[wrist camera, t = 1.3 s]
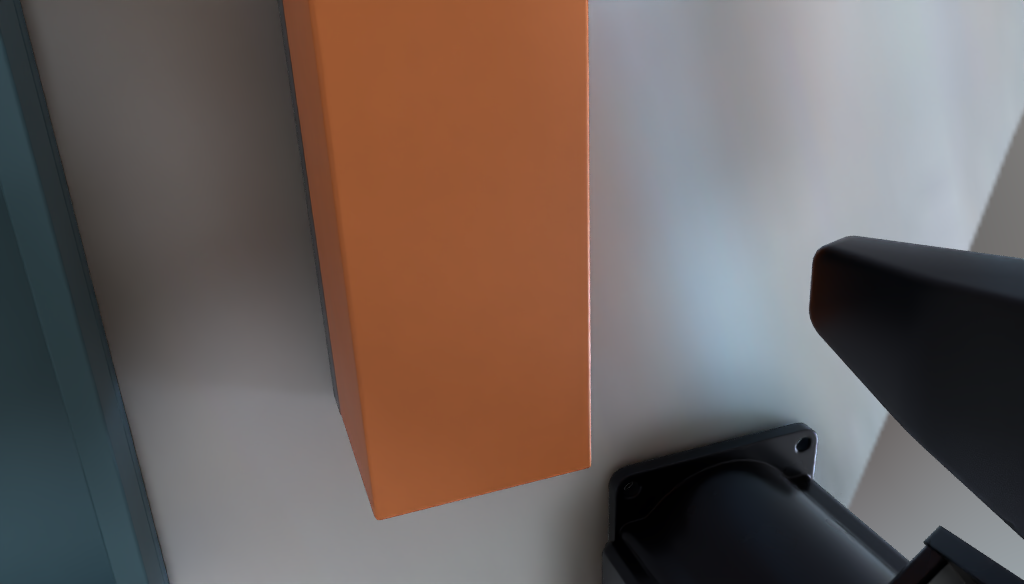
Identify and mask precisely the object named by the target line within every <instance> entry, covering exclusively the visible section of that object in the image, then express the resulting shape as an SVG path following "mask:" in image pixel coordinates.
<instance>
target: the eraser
mask: <svg viewBox="0 0 1024 584" xmlns="http://www.w3.org/2000/svg"><path fill="white" fill-rule="evenodd" d="M278 5H279V12H280V19H281V26H282V33H283V40H284V47H285V54H286V61H287V68H288V75H289V82H290V89H291V96H292V103H293V110H294V117H295V124H296V131H297V138H298V145H299V152H300V159H301V166H302V173H303V180H304V187H305V194H306V201H307V208H308V215H309V222H310V229H311V236H312V243H313V250H314V257H315V264H316V271H317V278H318V285H319V292H320V299H321V306H322V313H323V320H324V327H325V334H326V341H327V348H328V355H329V362H330V369H331V376H332V383H333V390H334V396H335V399H336V403H337V406H338V409H339V412H340V414H341V416H342V418H343V422H344V425H345V428H346V431H347V434H348V437H349V440H350V443H351V446H352V449H353V452H354V455H355V458H356V461H357V464H358V467H359V471H360V474H361V477H362V480H363V483H364V486H365V489H366V492H367V495H368V498H369V501H370V504H371V507H372V510H373V513H374V516H375V518H376V519H377V520H383V519H387V518H391V517H395V516H399V515H403V514H407V513H411V512H415V511H419V510H423V509H427V508H431V507H435V506H439V505H443V504H447V503H451V502H455V501H459V500H463V499H467V498H471V497H475V496H479V495H483V494H487V493H491V492H495V491H499V490H503V489H507V488H511V487H515V486H519V485H523V484H527V483H530V482H534V481H538V480H542V479H546V478H550V477H554V476H558V475H562V474H566V473H570V472H574V471H578V470H582V469H586V468H589V467H590V466H591V348H590V196H589V44H588V0H278Z"/></svg>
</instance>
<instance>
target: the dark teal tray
mask: <svg viewBox="0 0 1024 584" xmlns="http://www.w3.org/2000/svg"><path fill="white" fill-rule="evenodd" d="M0 584H169V581H168V577H167V573H166V569H165V565H164V561H163V557H162V554H161V550H160V546H159V542H158V538H157V534H156V530H155V526H154V522H153V518H152V515H151V511H150V507H149V503H148V499H147V495H146V491H145V487H144V483H143V479H142V476H141V472H140V468H139V464H138V460H137V456H136V452H135V448H134V444H133V440H132V437H131V433H130V429H129V425H128V421H127V417H126V413H125V409H124V405H123V401H122V398H121V394H120V390H119V386H118V382H117V378H116V374H115V370H114V366H113V362H112V359H111V355H110V351H109V347H108V343H107V339H106V335H105V331H104V327H103V323H102V319H101V316H100V312H99V308H98V304H97V300H96V296H95V292H94V288H93V284H92V280H91V277H90V273H89V269H88V265H87V261H86V257H85V253H84V249H83V245H82V241H81V238H80V234H79V230H78V226H77V222H76V218H75V214H74V210H73V206H72V202H71V199H70V195H69V191H68V187H67V183H66V179H65V175H64V171H63V167H62V163H61V160H60V156H59V152H58V148H57V144H56V140H55V136H54V132H53V128H52V124H51V121H50V117H49V113H48V109H47V105H46V101H45V97H44V93H43V89H42V85H41V81H40V78H39V74H38V70H37V66H36V62H35V58H34V54H33V50H32V46H31V42H30V39H29V35H28V31H27V27H26V23H25V19H24V15H23V11H22V7H21V3H20V0H0Z"/></svg>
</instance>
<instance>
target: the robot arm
mask: <svg viewBox="0 0 1024 584" xmlns="http://www.w3.org/2000/svg"><path fill="white" fill-rule="evenodd" d="M809 314H810V319H811V322H812V324H813V326H814V328H815V330H816V331H817V332H818V334H819V335H820V336H821V337H822V338H823V339H824V341H825V342H826V343H827V344H828V345H829V346H830V347H831V348H832V349H833V351H834V352H835V353H836V354H837V355H838V356H839V357H840V358H841V359H842V361H843V362H844V363H845V364H846V365H847V366H848V367H849V368H850V369H851V371H852V372H853V373H854V374H855V375H856V376H857V377H858V378H859V379H860V381H861V382H862V383H863V384H864V385H865V386H866V387H867V388H868V389H869V391H870V392H871V393H872V394H873V395H874V396H875V397H876V398H877V399H878V401H879V402H880V403H881V404H882V405H883V406H884V407H885V408H886V409H887V411H888V412H889V413H890V414H891V415H892V416H893V417H894V418H895V419H896V420H897V421H898V422H899V423H900V424H901V426H902V427H903V428H904V429H905V430H906V431H907V432H908V433H909V434H910V435H911V436H912V437H913V438H914V439H915V440H916V441H918V443H919V444H921V445H922V446H923V447H924V448H925V449H926V450H927V451H928V452H929V453H930V454H931V455H932V456H934V457H935V458H936V459H937V460H938V461H939V462H940V463H941V464H942V465H943V466H944V467H946V468H947V469H948V470H949V471H950V472H951V473H952V474H953V475H954V476H955V477H956V478H957V479H959V480H960V481H961V482H962V483H963V484H964V485H965V486H966V487H968V489H969V490H970V491H972V492H973V493H974V494H975V495H976V496H977V497H978V498H979V499H981V501H983V502H984V503H985V504H986V505H987V506H988V507H989V508H990V509H991V510H992V511H993V512H995V513H996V514H997V515H998V516H999V517H1000V518H1001V519H1002V520H1003V521H1004V522H1005V523H1006V524H1008V525H1009V526H1010V527H1011V528H1012V529H1013V530H1014V531H1015V532H1016V533H1017V534H1018V535H1020V536H1021V537H1022V538H1023V539H1024V259H1021V258H1015V257H1007V256H1000V255H993V254H985V253H978V252H971V251H963V250H956V249H949V248H941V247H934V246H927V245H919V244H912V243H905V242H897V241H890V240H882V239H875V238H868V237H860V236H848V237H844V238H841V239H839V240H837V241H834V242H832V243H829V244H827V245H824V246H822V247H821V248H820V249H818V250H817V252H816V254H815V256H814V258H813V263H812V276H811V289H810V302H809ZM800 439H801V440H800ZM799 440H800V442H799V443H798V441H799ZM797 443H798V444H797ZM817 446H818V435H817V434H816V432H815V431H814V430H812V429H811V428H810V427H809V426H807V425H806V424H804V423H794V424H790V425H787V426H783V427H779V428H775V429H771V430H767V431H763V432H759V433H755V434H751V435H747V436H743V437H739V438H735V439H731V440H727V441H723V442H719V443H716V444H712V445H708V446H704V447H700V448H696V449H692V450H688V451H684V452H680V453H676V454H672V455H668V456H664V457H660V458H656V459H652V460H648V461H645V462H641V463H637V464H633V465H629V466H625V467H623V468H621V469H619V470H618V471H616V472H615V473H614V474H613V476H612V477H611V479H610V482H609V540H608V543H606V545H605V548H604V550H603V552H602V584H1024V580H1022V579H1021V578H1019V577H1018V576H1016V575H1015V574H1013V573H1012V572H1010V571H1009V570H1007V569H1006V568H1004V567H1003V566H1001V565H999V564H998V563H996V562H995V561H993V560H991V559H990V558H989V557H987V556H986V555H984V554H983V553H981V552H980V551H978V550H977V549H975V548H974V547H972V546H971V545H969V544H968V543H966V542H964V541H963V540H962V539H960V538H958V537H957V536H956V535H954V534H952V533H951V532H949V531H948V530H946V529H945V528H943V527H942V526H939V527H938V528H937V529H936V530H935V531H934V532H933V533H932V534H931V535H930V536H929V537H928V538H927V539H926V540H925V541H924V544H925V545H926V546H925V547H924V548H923V549H922V550H921V551H920V552H919V553H918V554H917V555H916V556H915V557H914V558H913V559H912V560H911V561H908V560H907V559H906V558H905V557H904V556H903V555H901V554H900V553H899V552H898V551H897V550H896V549H894V548H893V547H892V546H891V545H889V544H888V543H887V542H886V541H885V540H883V539H882V538H881V537H880V536H879V535H878V534H877V533H875V532H874V531H873V530H872V529H871V528H869V527H868V526H867V525H866V524H865V523H863V522H862V521H861V520H860V519H859V518H858V517H856V516H855V515H854V514H853V513H852V512H850V511H849V510H848V509H847V508H846V507H844V506H843V505H842V504H841V503H840V502H839V501H837V500H836V499H835V498H834V497H833V496H831V495H830V494H829V493H828V492H827V491H826V490H824V489H823V488H822V487H821V486H820V485H818V484H817V483H816V482H815V481H814V472H815V464H816V455H817ZM631 482H633V484H632V485H631V486H630V487H629V488H627V489H625V490H624V488H625V487H626V486H627V484H629V483H631Z"/></svg>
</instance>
